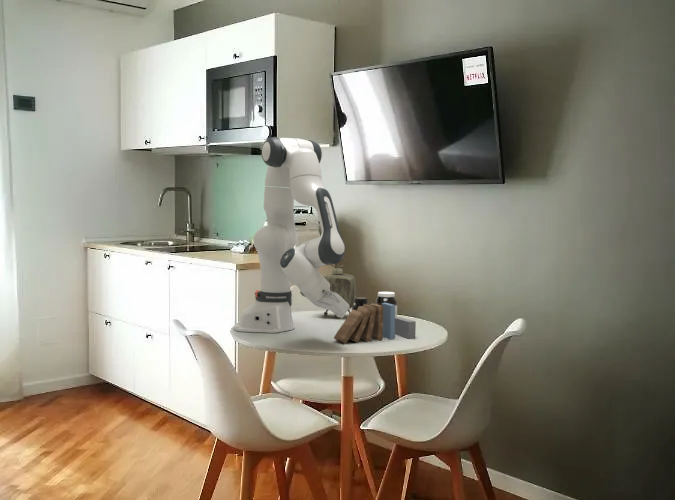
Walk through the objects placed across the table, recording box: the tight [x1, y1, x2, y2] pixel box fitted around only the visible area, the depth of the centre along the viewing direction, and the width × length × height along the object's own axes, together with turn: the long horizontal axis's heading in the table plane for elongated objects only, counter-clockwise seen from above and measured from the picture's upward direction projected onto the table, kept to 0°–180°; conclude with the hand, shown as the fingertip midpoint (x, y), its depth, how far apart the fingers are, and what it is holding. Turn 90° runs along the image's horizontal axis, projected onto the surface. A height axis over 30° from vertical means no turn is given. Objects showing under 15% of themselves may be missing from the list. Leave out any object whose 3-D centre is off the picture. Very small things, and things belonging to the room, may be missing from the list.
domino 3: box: [359, 304, 377, 342], centre depth 236 cm, size 2×6×12 cm, turn 29°
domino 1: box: [333, 309, 365, 345], centre depth 233 cm, size 2×6×12 cm
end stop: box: [395, 316, 417, 340], centre depth 244 cm, size 3×10×6 cm, turn 29°
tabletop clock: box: [323, 257, 357, 319], centre depth 279 cm, size 14×9×25 cm, turn 82°
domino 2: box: [349, 306, 372, 343], centre depth 235 cm, size 2×6×12 cm, turn 29°
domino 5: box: [382, 303, 396, 340], centre depth 241 cm, size 2×6×12 cm, turn 29°
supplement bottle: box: [351, 296, 369, 311], centre depth 255 cm, size 7×7×12 cm
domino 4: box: [369, 303, 384, 341], centre depth 238 cm, size 2×6×12 cm, turn 29°
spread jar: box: [374, 291, 398, 317], centre depth 273 cm, size 12×11×12 cm
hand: (341, 316), depth 231 cm, fingers closed
